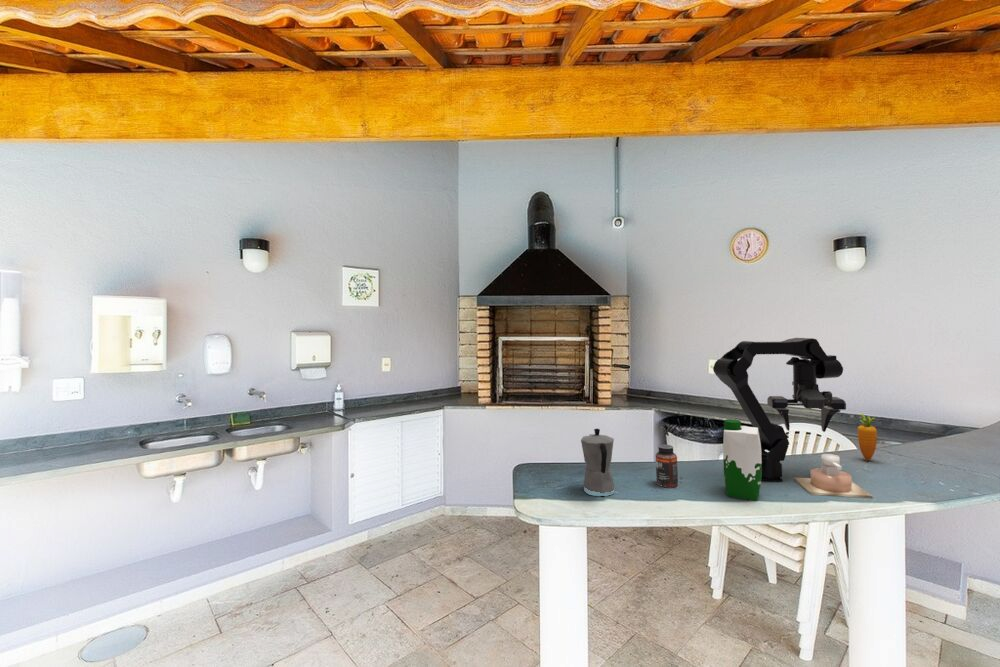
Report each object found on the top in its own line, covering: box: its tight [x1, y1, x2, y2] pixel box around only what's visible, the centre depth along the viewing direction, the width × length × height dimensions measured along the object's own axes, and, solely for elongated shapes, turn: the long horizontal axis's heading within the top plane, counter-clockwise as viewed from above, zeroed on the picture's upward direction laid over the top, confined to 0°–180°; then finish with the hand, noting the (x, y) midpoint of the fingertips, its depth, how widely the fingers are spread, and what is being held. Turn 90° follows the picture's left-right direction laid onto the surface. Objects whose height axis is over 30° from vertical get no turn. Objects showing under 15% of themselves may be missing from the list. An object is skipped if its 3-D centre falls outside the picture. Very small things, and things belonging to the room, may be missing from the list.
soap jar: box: [810, 463, 853, 493], centre depth 119 cm, size 9×9×6 cm
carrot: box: [857, 413, 878, 462], centre depth 139 cm, size 5×5×15 cm
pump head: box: [820, 453, 843, 470], centre depth 118 cm, size 4×7×5 cm, turn 165°
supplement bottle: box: [655, 444, 679, 488], centre depth 126 cm, size 6×6×11 cm
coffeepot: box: [580, 428, 616, 493], centre depth 122 cm, size 15×9×18 cm, turn 0°
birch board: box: [793, 476, 873, 499], centre depth 119 cm, size 14×11×1 cm
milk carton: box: [722, 418, 762, 502], centre depth 117 cm, size 9×9×20 cm
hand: (805, 430), depth 130 cm, fingers open, 9 cm apart
